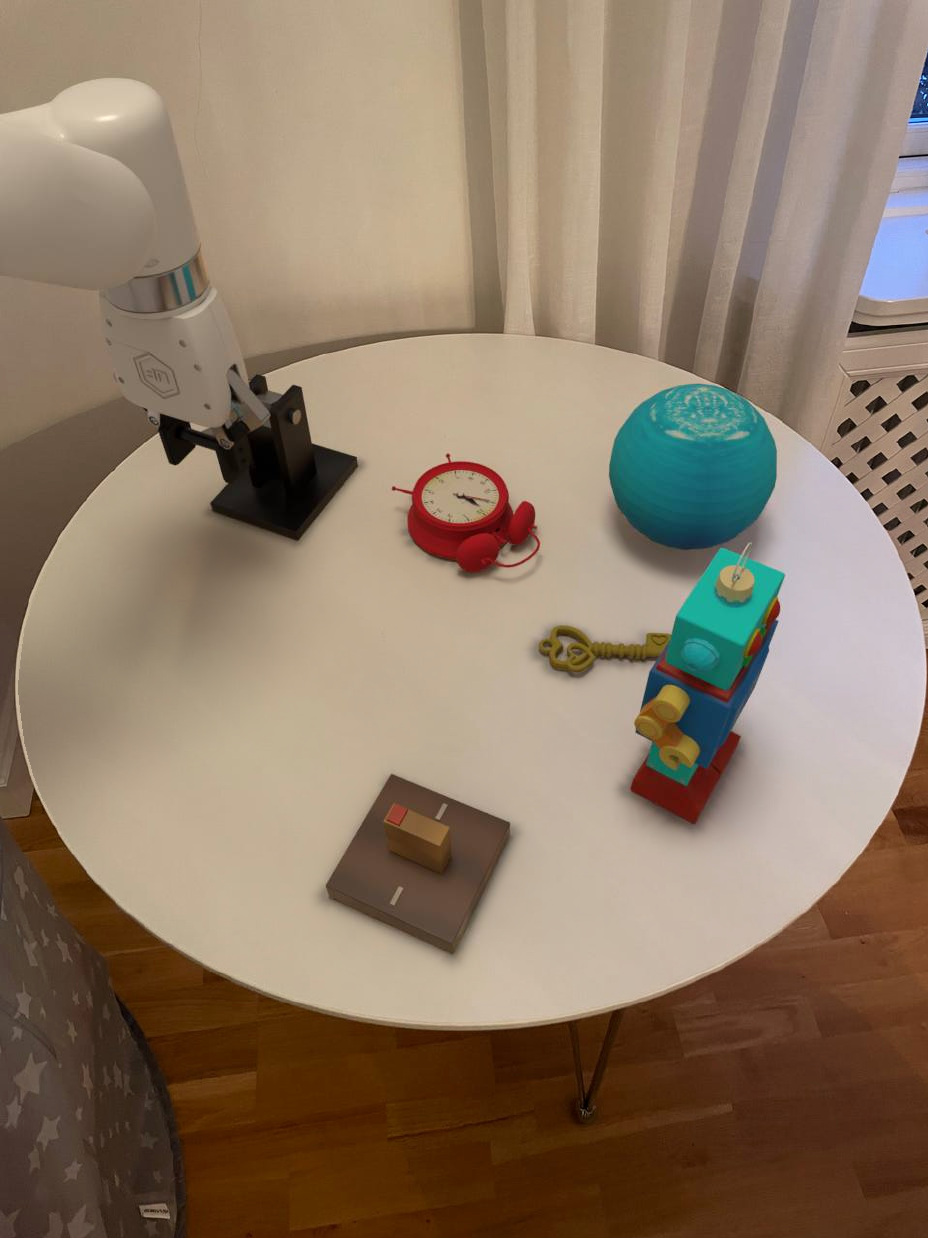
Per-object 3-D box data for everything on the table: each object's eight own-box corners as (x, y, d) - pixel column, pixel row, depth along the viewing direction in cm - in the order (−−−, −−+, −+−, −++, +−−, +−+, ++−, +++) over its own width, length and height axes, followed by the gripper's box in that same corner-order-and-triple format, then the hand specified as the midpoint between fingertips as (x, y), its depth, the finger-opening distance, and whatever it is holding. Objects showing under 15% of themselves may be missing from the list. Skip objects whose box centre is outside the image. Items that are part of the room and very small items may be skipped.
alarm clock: (455, 439, 94) (563, 486, 85) (465, 491, 98) (569, 541, 89) (375, 488, 90) (479, 543, 80) (389, 540, 94) (490, 598, 84)
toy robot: (685, 842, 70) (763, 635, 51) (612, 803, 72) (661, 590, 53) (744, 732, 76) (834, 510, 57) (676, 699, 78) (740, 474, 59)
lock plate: (453, 955, 65) (452, 943, 63) (328, 897, 68) (324, 884, 66) (509, 834, 71) (510, 821, 69) (393, 786, 73) (391, 772, 72)
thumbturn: (451, 855, 67) (450, 825, 64) (442, 874, 66) (439, 844, 63) (398, 832, 69) (393, 800, 65) (387, 850, 68) (382, 819, 64)
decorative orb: (603, 580, 87) (622, 456, 75) (598, 472, 96) (614, 347, 85) (767, 586, 86) (811, 461, 74) (745, 477, 96) (782, 351, 84)
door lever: (223, 462, 79) (223, 436, 78) (175, 447, 81) (174, 420, 79) (300, 423, 89) (301, 399, 88) (255, 410, 90) (256, 386, 89)
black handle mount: (297, 540, 91) (277, 446, 82) (212, 511, 93) (183, 416, 84) (358, 465, 97) (345, 370, 88) (276, 440, 100) (256, 345, 91)
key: (676, 628, 81) (679, 675, 78) (674, 637, 82) (677, 684, 79) (540, 621, 82) (537, 667, 79) (539, 630, 83) (537, 675, 80)
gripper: (27, 273, 68) (105, 464, 82) (222, 327, 63) (269, 519, 77) (94, 226, 72) (157, 414, 86) (281, 273, 68) (316, 464, 82)
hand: (209, 462), depth 82 cm, fingers closed on door lever, 5 cm apart
